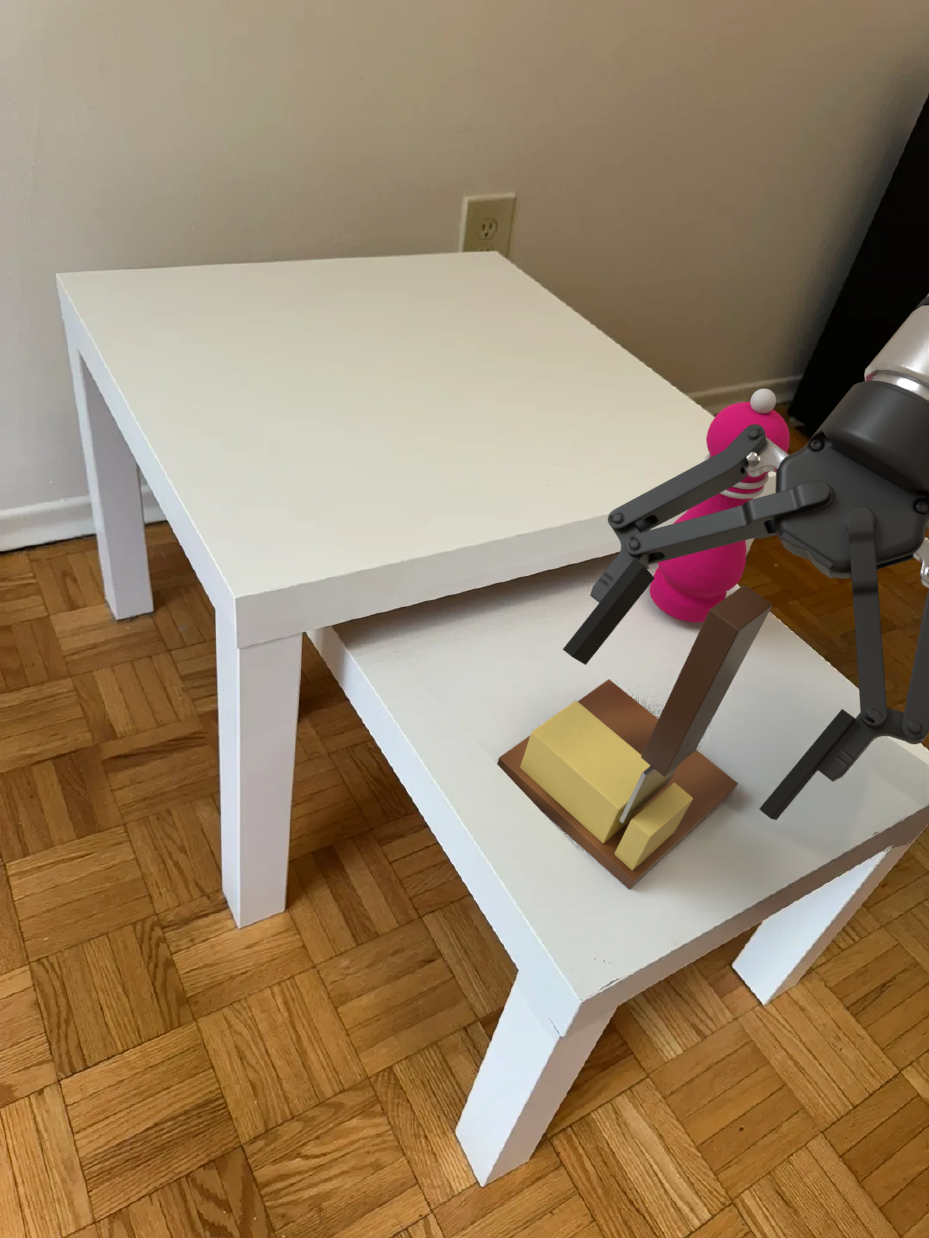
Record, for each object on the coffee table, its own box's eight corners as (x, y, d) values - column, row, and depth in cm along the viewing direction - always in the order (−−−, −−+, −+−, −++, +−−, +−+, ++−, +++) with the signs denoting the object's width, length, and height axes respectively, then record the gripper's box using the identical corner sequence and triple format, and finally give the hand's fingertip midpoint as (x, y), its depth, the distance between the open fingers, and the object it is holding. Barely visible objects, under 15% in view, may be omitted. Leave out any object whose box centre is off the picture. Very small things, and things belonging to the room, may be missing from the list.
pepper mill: (661, 561, 84) (735, 356, 70) (736, 595, 82) (827, 390, 68) (630, 602, 79) (704, 390, 66) (710, 639, 77) (803, 428, 63)
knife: (677, 791, 59) (781, 597, 47) (631, 832, 57) (729, 637, 45) (656, 773, 60) (752, 578, 48) (609, 812, 57) (700, 615, 46)
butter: (674, 832, 61) (693, 798, 58) (632, 871, 59) (650, 837, 56) (562, 735, 66) (576, 699, 63) (519, 768, 63) (531, 731, 60)
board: (731, 795, 66) (738, 783, 65) (627, 893, 59) (633, 881, 58) (603, 691, 71) (608, 678, 70) (494, 770, 64) (498, 757, 63)
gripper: (1138, 568, 47) (865, 888, 49) (736, 345, 58) (526, 614, 60) (1181, 523, 40) (862, 897, 42) (717, 281, 51) (481, 586, 53)
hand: (664, 732), depth 51 cm, fingers open, 13 cm apart
